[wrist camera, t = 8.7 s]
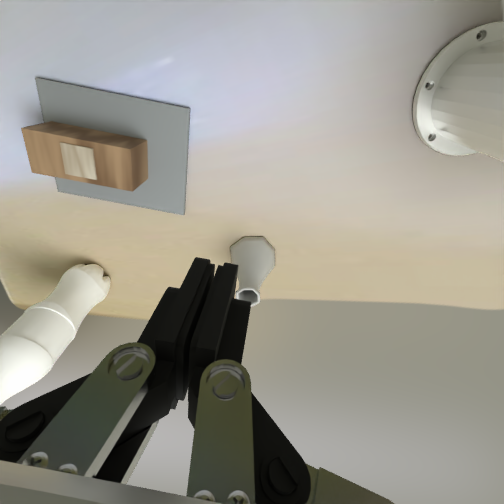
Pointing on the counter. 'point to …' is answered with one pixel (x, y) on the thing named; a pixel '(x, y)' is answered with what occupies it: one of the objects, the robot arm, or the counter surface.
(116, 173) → the cardboard box
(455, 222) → the counter surface
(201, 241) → the counter surface
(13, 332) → the water bottle
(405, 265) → the counter surface
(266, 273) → the flask
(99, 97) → the mat
